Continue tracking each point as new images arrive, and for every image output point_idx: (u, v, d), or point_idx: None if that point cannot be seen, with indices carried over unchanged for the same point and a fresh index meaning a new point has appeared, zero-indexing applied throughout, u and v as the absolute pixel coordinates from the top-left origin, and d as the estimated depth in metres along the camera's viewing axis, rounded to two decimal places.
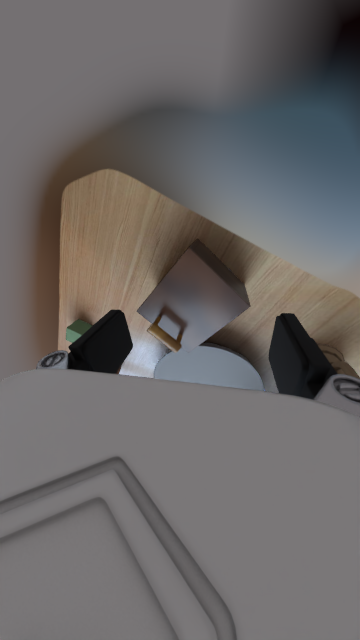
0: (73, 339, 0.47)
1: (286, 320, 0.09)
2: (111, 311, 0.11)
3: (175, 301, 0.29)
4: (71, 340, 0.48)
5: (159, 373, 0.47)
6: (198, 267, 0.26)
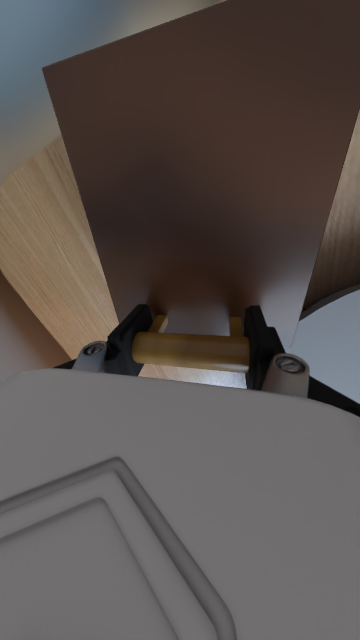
0: None
1: (251, 311, 0.10)
2: (139, 305, 0.11)
3: (154, 251, 0.11)
4: None
5: None
6: (107, 90, 0.08)
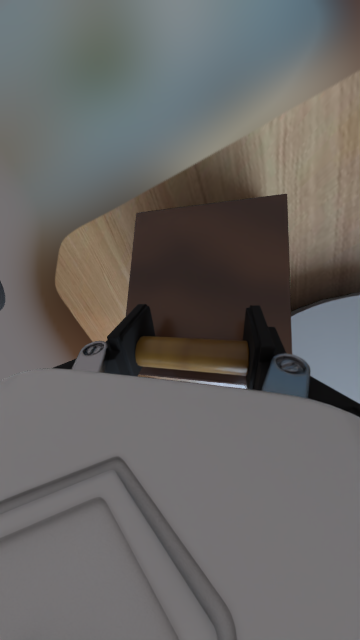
0: None
1: (252, 311, 0.10)
2: (138, 305, 0.11)
3: (171, 292, 0.14)
4: None
5: None
6: (164, 220, 0.16)
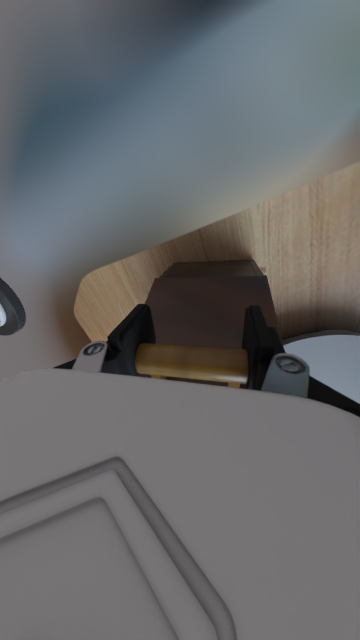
0: None
1: (251, 311, 0.10)
2: (139, 305, 0.11)
3: (174, 329, 0.16)
4: None
5: None
6: (176, 283, 0.20)
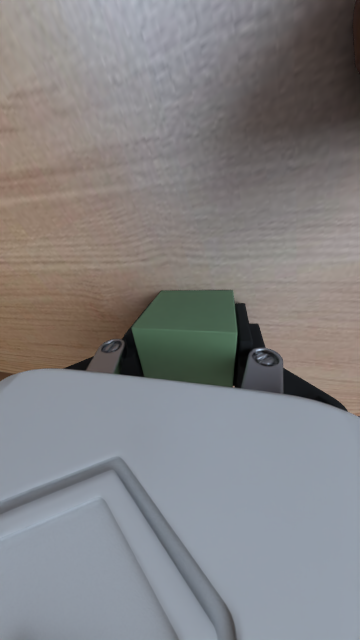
0: (200, 372, 0.08)
1: (236, 308, 0.10)
2: None
3: None
4: (216, 382, 0.08)
5: None
6: None
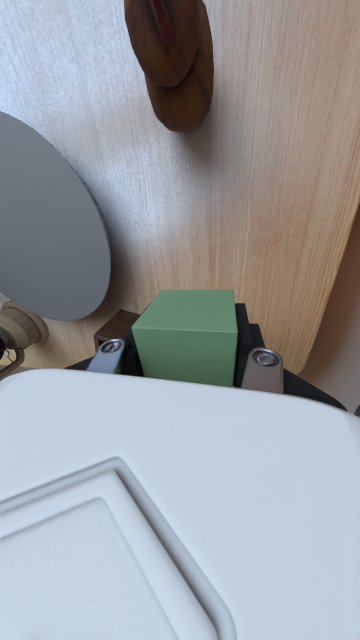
0: (201, 372, 0.08)
1: (236, 308, 0.10)
2: None
3: None
4: (216, 381, 0.08)
5: (88, 213, 0.23)
6: None
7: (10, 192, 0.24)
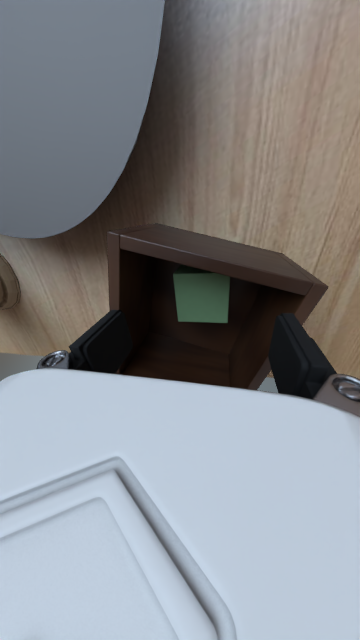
0: (210, 300, 0.15)
1: (285, 320, 0.09)
2: (111, 311, 0.11)
3: None
4: (219, 306, 0.15)
5: None
6: None
7: None
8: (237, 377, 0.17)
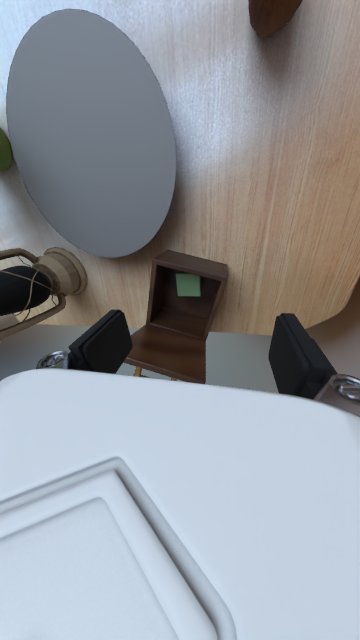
0: (192, 285, 0.34)
1: (286, 320, 0.09)
2: (111, 311, 0.11)
3: None
4: (196, 288, 0.34)
5: (161, 126, 0.24)
6: None
7: (85, 107, 0.25)
8: (206, 323, 0.36)
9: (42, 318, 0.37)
